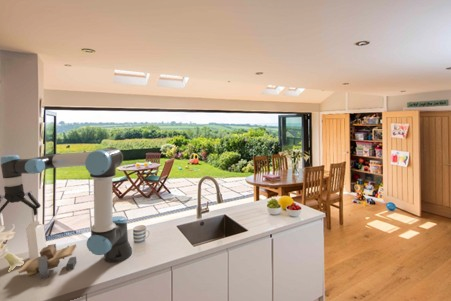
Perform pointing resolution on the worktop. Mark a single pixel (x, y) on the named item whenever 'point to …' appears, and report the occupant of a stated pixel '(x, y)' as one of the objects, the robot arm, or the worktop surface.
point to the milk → (35, 238)
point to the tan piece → (33, 266)
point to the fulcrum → (44, 266)
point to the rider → (48, 251)
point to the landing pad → (71, 263)
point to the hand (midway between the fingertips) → (18, 223)
